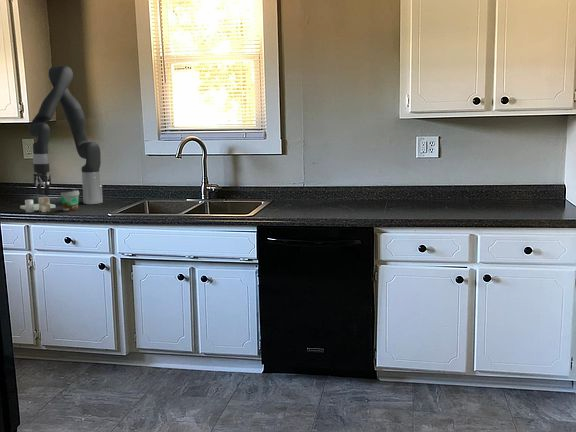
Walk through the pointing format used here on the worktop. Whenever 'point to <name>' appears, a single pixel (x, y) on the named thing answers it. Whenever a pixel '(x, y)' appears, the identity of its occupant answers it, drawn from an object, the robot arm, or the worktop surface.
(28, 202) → the ceramic jar
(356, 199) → the worktop surface
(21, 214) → the worktop surface
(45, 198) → the ash block
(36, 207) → the cutting board
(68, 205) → the food container
